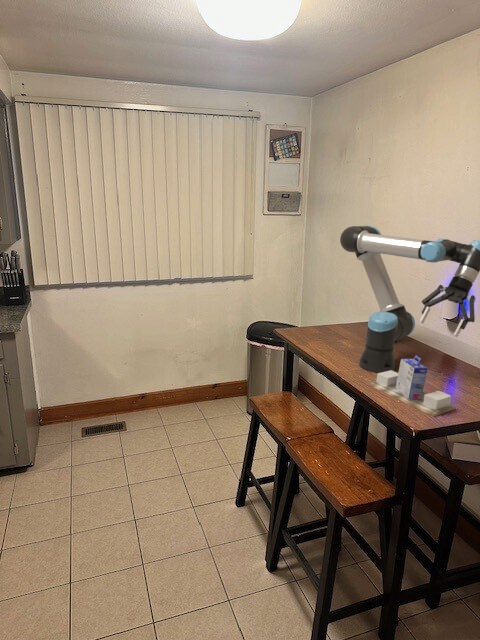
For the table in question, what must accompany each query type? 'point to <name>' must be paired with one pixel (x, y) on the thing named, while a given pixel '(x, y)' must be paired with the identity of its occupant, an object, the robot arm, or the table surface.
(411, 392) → the ink cartridge box
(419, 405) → the rail board
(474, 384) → the table surface
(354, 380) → the table surface
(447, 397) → the mounted modules
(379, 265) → the robot arm
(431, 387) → the table surface
